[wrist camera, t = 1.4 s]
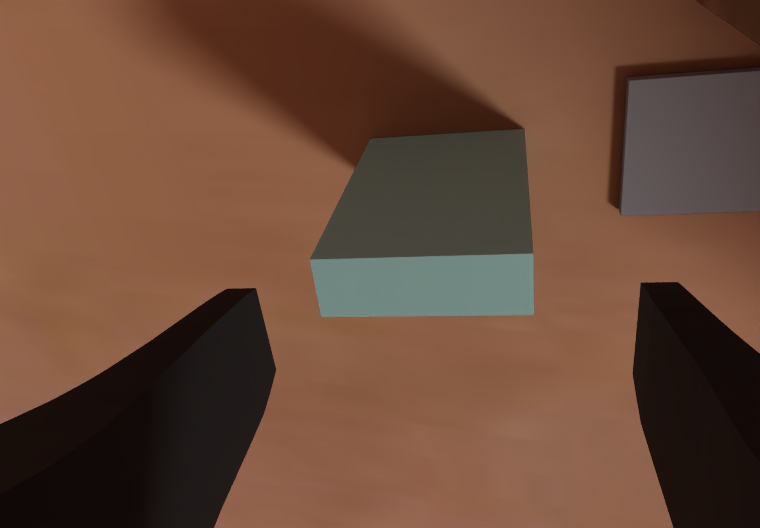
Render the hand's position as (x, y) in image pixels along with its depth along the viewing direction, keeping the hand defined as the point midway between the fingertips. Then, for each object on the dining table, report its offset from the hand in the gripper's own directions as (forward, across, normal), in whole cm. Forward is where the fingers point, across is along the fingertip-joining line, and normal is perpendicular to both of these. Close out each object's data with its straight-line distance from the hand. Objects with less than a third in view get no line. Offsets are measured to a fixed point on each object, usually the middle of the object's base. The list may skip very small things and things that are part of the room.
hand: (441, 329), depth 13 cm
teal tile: (+10, +1, +1) cm, 11 cm away
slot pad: (+10, -8, +1) cm, 13 cm away
